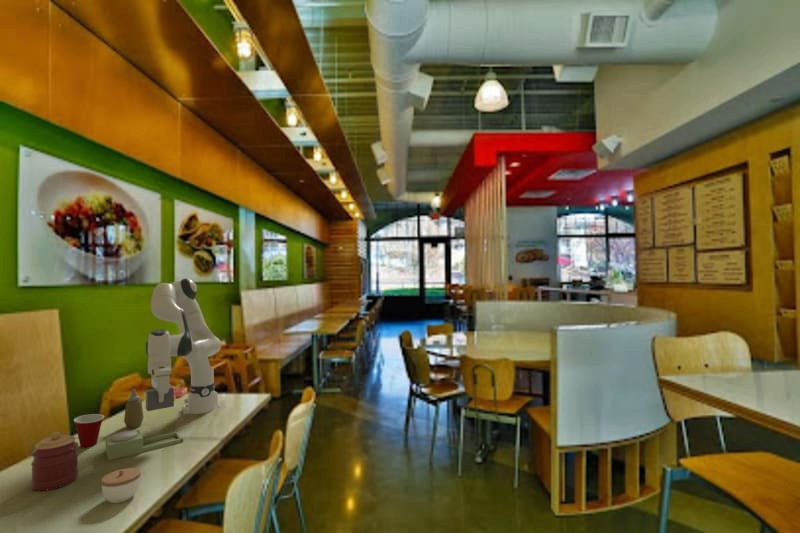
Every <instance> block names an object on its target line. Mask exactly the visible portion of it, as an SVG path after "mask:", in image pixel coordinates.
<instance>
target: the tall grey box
mask: <svg viewBox="0 0 800 533" xmlns="http://www.w3.org/2000/svg"><path fill="white" fill-rule="evenodd" d="M172 386H173V385H171V386H169V391H168V393H165V394H164V401H163V402H159V401H158V398H159V394H158V392H157V391H156V390H155V389H154V388H150V389H149V388H148V389H145V410H146V411H147V412H152V411H155V410H162V409H167V408H172V407H174V406H175V400H174V388H175V387H174V386H173V387H174V388H173V387H172Z"/></svg>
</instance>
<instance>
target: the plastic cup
mask: <svg viewBox="0 0 800 533" xmlns="http://www.w3.org/2000/svg"><path fill="white" fill-rule="evenodd" d="M104 418H105V415H103V414H100V413H99V414H98V413H95V414H94V413H91V414H84V415H79V416H77V417H75V418H74V419H73V422H74V425H75V426H76V427H75V428H76V433H77V438H78V441H79V446H80V448H84V449H85V448H92V447H93V446H95V445H97V443H98V441H99V440H98V439H99V435H100V431H101V427H102V426H101V425H102V422H103V420H104Z"/></svg>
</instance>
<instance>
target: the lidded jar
mask: <svg viewBox="0 0 800 533" xmlns="http://www.w3.org/2000/svg"><path fill="white" fill-rule="evenodd" d="M140 482H141V470H140V469H139V468H134V467H129V468H122V469H117V470H114V471H111V472H110V473H107V474H106V475H104V476H103V477H102V478H101V481H100V483H101V493H102V496H103V498H104V499H105V500H106V501H107V502H109V503H111V504H119V503H120V502H121V503H124V502H127V501H128V500H130V499H132V498H133V496H134V495H135V494H136V493H137V491H138V489H139V487H140ZM126 500H127V501H126ZM123 501H124V502H123Z"/></svg>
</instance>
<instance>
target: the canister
mask: <svg viewBox="0 0 800 533" xmlns="http://www.w3.org/2000/svg"><path fill="white" fill-rule="evenodd" d="M78 447H79V443H78V442H76V437H75V436H74V435H73V436H72V435H70V434H65V433H64V434H61V433H60V432H59V431H54V432H52V433H51V435H50V436H48V437H45V438H43V439H41V440H40V441H39V442H38V443H36V444H35V445H34V448H35V449H34V450H33V451H32V452H31V457H32V461H31V463H30V465H31V481H30V482H31V483H30V485H31V488H32V490H33V491H37V490H45V491H48V490H47V489H51V490H54V489H53V488H56V487H59V488H61V487H60V486H62V487H64V486H63V485H65V486H67V485H69V484H71V483H73V482H74V481H75V479H76V478H77V479H78V475H79V469H78V467H79V466H78V465H79V464H78V463H79V462H78V461H79V458H78V457H79V452H78V450H77V448H78ZM77 479H76V480H77ZM73 480H74V481H73ZM72 481H73V482H72ZM70 482H71V483H70ZM68 483H69V484H68ZM66 484H67V485H66ZM56 489H57V488H56Z"/></svg>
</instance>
